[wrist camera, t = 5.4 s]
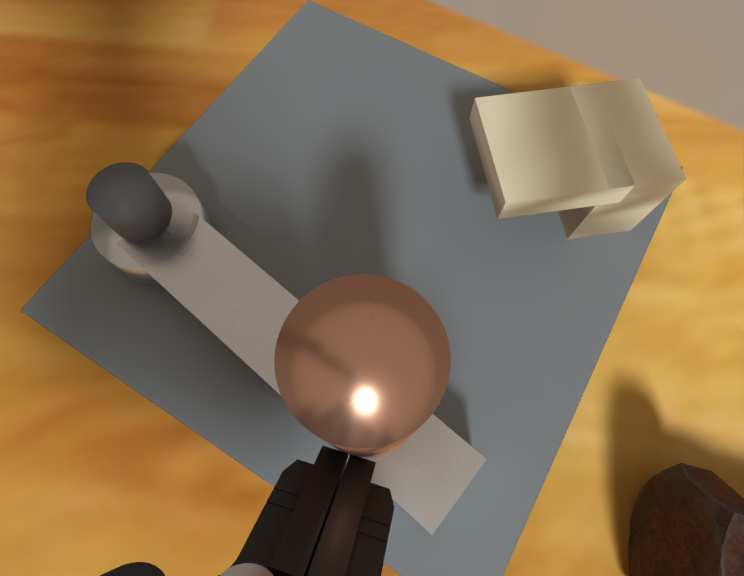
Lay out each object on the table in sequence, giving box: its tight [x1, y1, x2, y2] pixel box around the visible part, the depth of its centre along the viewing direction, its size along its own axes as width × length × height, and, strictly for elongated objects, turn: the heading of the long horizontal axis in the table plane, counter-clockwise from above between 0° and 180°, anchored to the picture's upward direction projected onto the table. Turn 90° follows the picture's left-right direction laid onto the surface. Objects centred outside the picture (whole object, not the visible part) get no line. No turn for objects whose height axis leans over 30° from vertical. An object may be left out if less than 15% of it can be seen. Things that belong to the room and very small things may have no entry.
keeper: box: [469, 78, 686, 239], centre depth 20 cm, size 7×5×4 cm
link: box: [90, 173, 487, 535], centre depth 14 cm, size 18×4×11 cm, turn 49°
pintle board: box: [20, 0, 683, 576], centre depth 20 cm, size 22×22×6 cm
